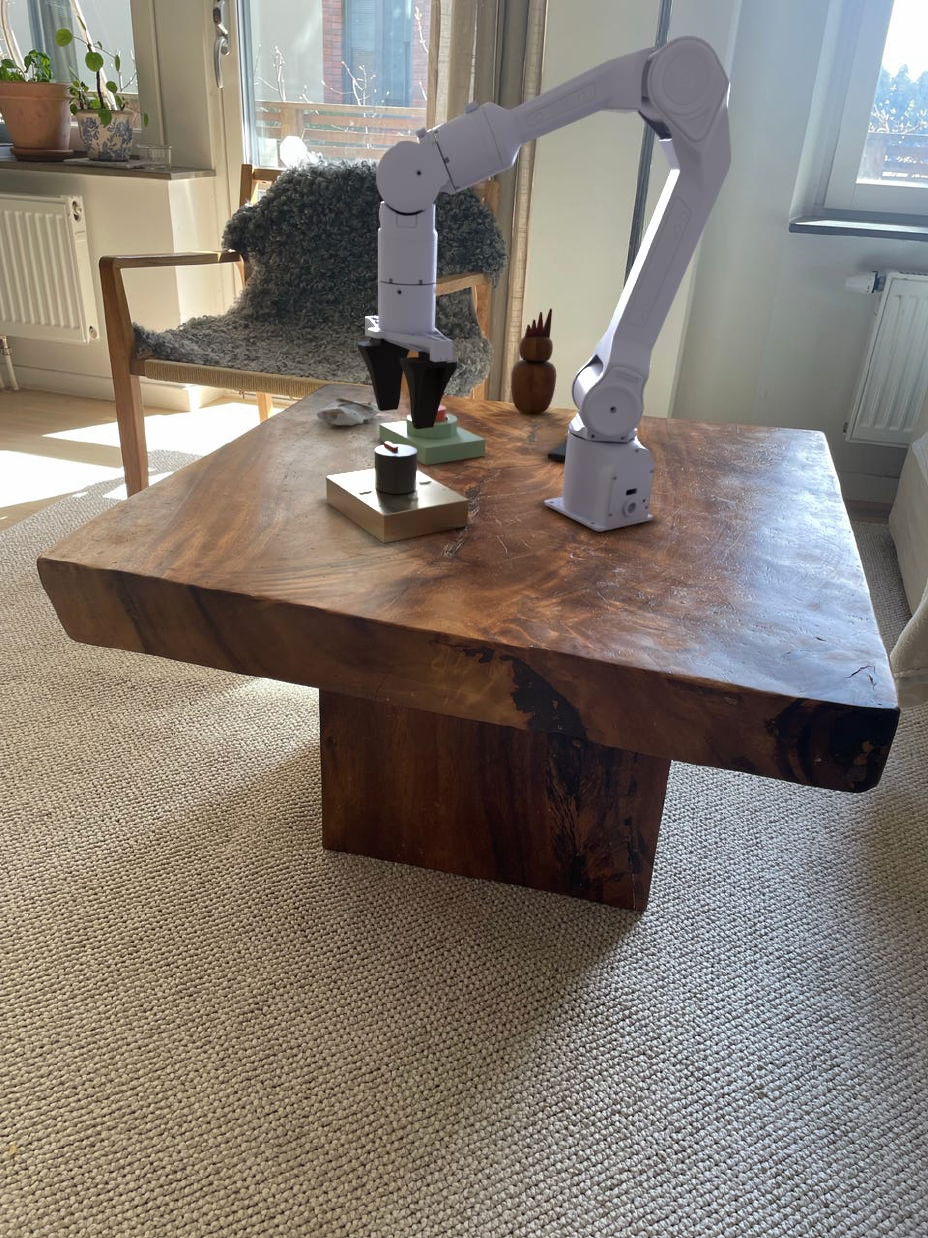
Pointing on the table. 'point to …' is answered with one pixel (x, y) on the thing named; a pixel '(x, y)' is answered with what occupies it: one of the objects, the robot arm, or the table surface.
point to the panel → (397, 506)
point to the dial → (395, 468)
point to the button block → (435, 440)
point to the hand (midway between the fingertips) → (405, 418)
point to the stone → (347, 412)
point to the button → (441, 414)
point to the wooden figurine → (534, 369)
